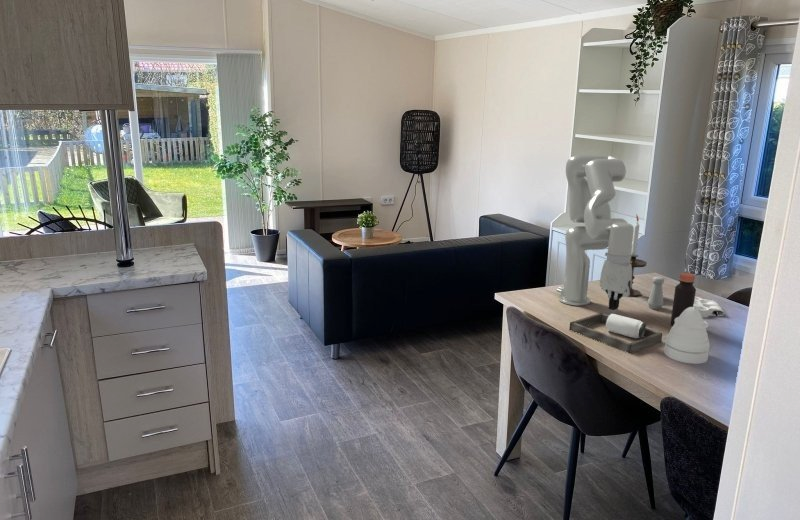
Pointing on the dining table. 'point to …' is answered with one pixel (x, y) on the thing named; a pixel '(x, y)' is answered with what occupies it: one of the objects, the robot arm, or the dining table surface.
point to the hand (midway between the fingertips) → (613, 308)
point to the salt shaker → (656, 294)
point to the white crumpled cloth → (708, 307)
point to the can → (625, 326)
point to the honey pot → (688, 337)
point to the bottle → (683, 295)
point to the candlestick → (633, 260)
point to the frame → (579, 327)
